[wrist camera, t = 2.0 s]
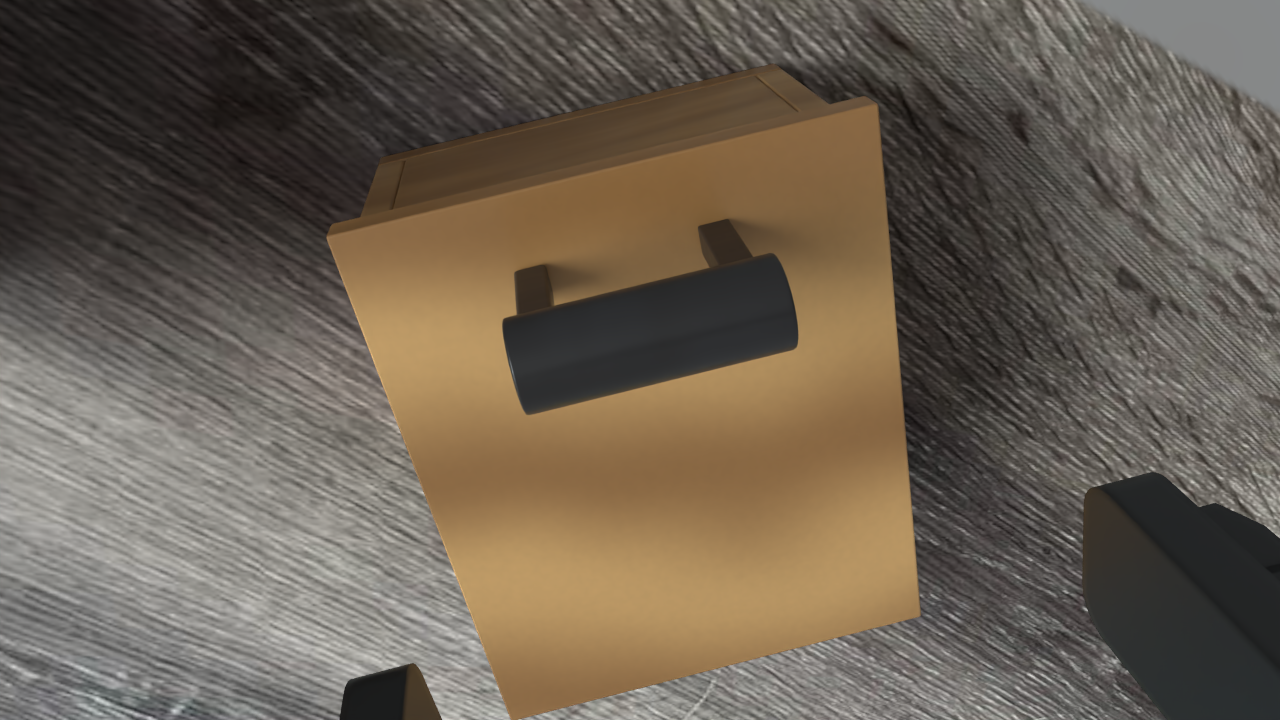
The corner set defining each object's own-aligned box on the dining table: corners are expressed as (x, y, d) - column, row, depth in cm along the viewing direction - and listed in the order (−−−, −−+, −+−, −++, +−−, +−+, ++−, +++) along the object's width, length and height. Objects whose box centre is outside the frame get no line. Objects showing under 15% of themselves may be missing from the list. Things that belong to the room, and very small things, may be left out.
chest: (379, 157, 28) (344, 257, 21) (775, 62, 28) (868, 130, 21) (505, 528, 34) (510, 698, 27) (825, 448, 34) (910, 596, 28)
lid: (330, 223, 20) (283, 336, 16) (866, 94, 21) (978, 166, 16) (510, 699, 27) (515, 878, 23) (910, 597, 28) (998, 752, 23)
